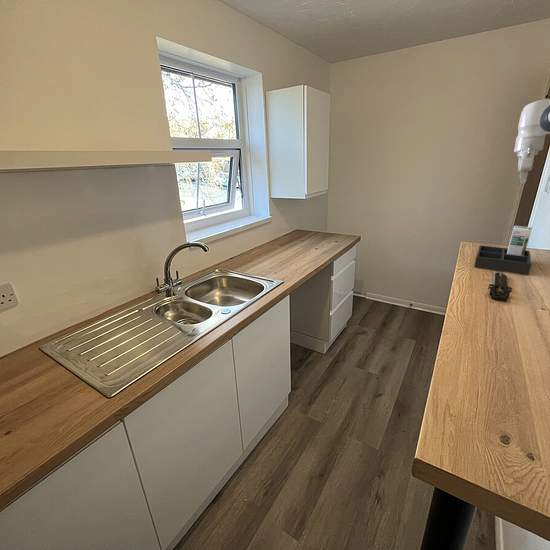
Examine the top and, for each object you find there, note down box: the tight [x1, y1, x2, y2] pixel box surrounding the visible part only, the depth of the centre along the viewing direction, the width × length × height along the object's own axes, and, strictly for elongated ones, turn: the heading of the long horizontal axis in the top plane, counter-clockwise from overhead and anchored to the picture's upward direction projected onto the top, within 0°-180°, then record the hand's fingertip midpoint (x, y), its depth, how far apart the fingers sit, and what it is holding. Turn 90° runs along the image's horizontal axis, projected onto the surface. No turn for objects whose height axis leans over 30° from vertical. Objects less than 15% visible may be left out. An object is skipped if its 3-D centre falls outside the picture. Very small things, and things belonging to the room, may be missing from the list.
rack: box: [473, 244, 532, 276], centre depth 123 cm, size 17×17×5 cm
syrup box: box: [507, 225, 533, 256], centre depth 122 cm, size 6×6×14 cm
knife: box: [488, 271, 513, 302], centre depth 105 cm, size 25×6×1 cm, turn 140°
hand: (522, 183), depth 122 cm, fingers open, 8 cm apart
